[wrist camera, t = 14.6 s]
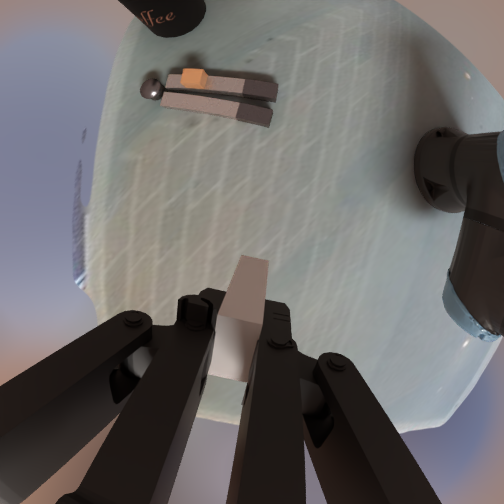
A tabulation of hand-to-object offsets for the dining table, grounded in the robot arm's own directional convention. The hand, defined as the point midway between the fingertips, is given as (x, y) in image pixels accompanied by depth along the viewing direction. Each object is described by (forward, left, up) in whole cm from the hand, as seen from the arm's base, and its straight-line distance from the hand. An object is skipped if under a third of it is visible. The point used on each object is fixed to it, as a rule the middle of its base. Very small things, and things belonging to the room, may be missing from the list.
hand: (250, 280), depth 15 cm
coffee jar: (+22, -33, -30) cm, 49 cm away
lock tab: (+14, -18, -27) cm, 35 cm away
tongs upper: (+11, -15, -29) cm, 34 cm away
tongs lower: (+13, -17, -29) cm, 36 cm away
